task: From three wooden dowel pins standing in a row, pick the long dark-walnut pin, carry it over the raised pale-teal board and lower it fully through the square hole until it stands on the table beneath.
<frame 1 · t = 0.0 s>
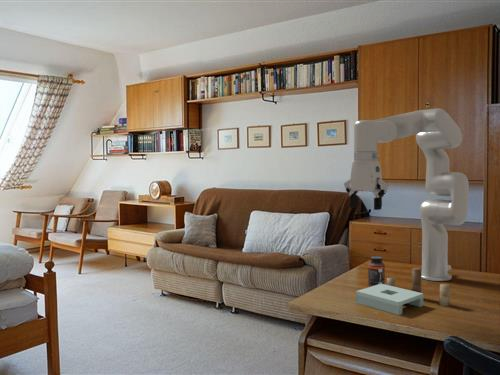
hand: (365, 208, 150), 31 cm above the table, fingers open, 9 cm apart
long pin: (416, 297, 153), on the table
medium pin: (444, 304, 146), on the table
short pin: (391, 291, 161), on the table
hole board: (389, 304, 147), on the table
supplement bottle: (376, 287, 167), on the table
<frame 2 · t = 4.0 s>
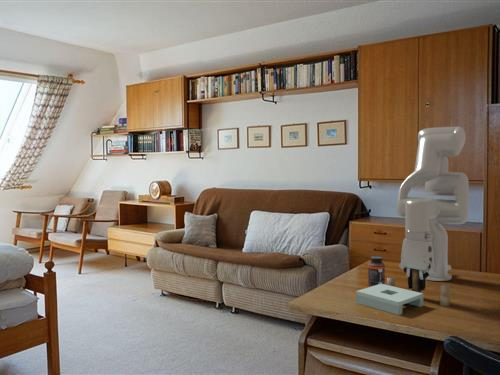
hand: (416, 288, 153), 3 cm above the table, fingers closed on long pin, 3 cm apart
long pin: (416, 297, 153), on the table, touching gripper
everything else where it was.
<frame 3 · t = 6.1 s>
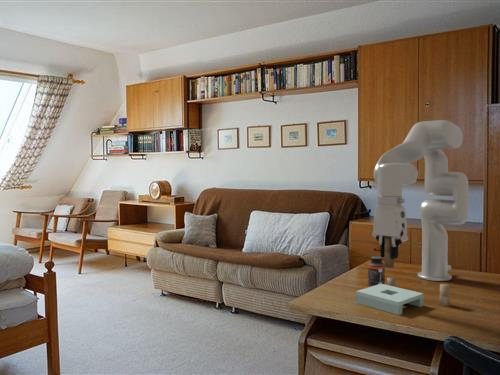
hand: (389, 257, 146), 16 cm above the table, fingers closed on long pin, 3 cm apart
long pin: (389, 266, 146), point 13 cm above the table, touching gripper
everything else where it was.
when the fingers open (5 cm above the table, at t = 8.6 s): long pin drops 2 cm, on the table.
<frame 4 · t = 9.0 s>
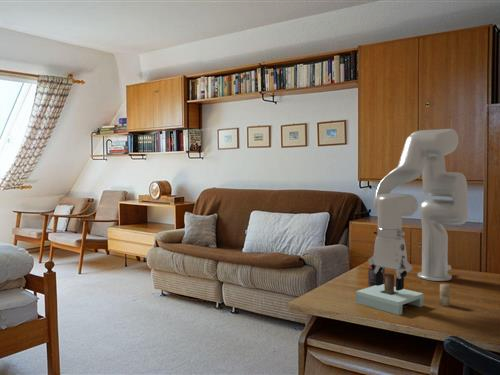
hand: (389, 287, 147), 6 cm above the table, fingers open, 7 cm apart
long pin: (389, 304, 147), on the table
everything else where it was.
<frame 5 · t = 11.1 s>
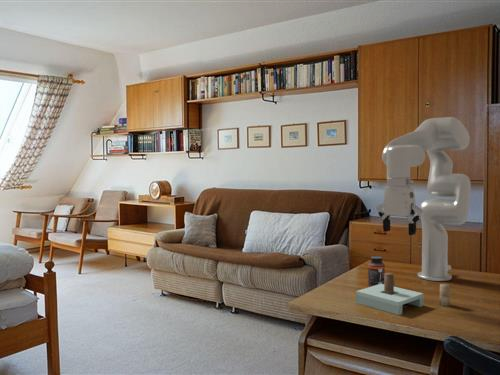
hand: (399, 232, 152), 23 cm above the table, fingers open, 9 cm apart
nothing on the table moved.
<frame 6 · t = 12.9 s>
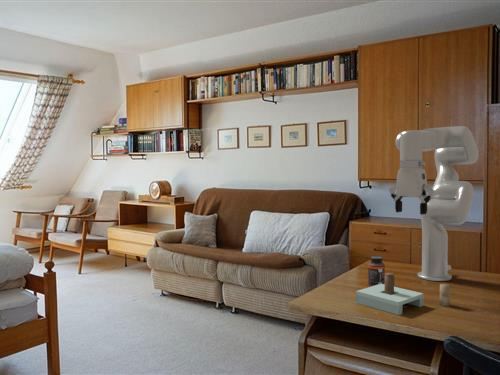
hand: (410, 213, 160), 28 cm above the table, fingers open, 9 cm apart
nothing on the table moved.
at the end: long pin 0.1 cm off-centre on the hole board, point 0.0 cm above the hole board's base; long pin tilted 1°; the gripper is holding nothing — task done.
